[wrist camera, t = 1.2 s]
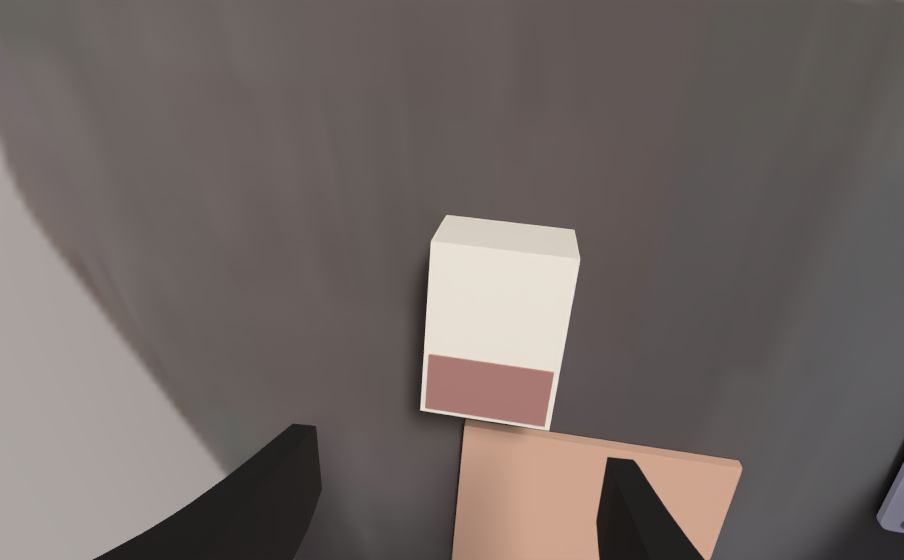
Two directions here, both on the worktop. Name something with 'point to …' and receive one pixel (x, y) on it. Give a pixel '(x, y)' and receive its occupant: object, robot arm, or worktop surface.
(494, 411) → the card box
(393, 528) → the worktop surface
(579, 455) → the mat
